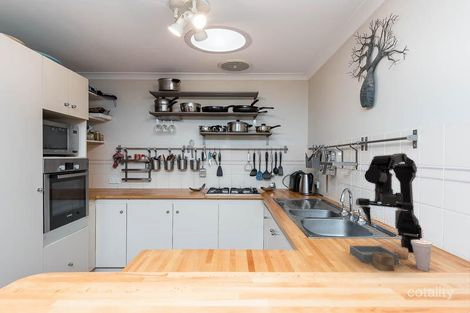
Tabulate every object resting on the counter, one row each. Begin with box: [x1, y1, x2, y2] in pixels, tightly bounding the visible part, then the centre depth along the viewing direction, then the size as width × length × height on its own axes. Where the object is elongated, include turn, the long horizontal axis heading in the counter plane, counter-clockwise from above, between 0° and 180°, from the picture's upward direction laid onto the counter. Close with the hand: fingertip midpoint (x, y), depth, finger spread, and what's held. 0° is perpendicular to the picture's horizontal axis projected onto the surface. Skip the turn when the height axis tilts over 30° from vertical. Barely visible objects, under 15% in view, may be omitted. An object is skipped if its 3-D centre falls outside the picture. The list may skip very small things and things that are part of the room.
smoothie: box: [411, 229, 433, 272], centre depth 91 cm, size 6×6×14 cm
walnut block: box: [372, 253, 395, 272], centre depth 92 cm, size 5×5×5 cm
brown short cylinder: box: [393, 245, 410, 261], centre depth 104 cm, size 5×5×4 cm
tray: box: [349, 245, 400, 265], centre depth 104 cm, size 13×13×3 cm
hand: (383, 227), depth 96 cm, fingers open, 9 cm apart
